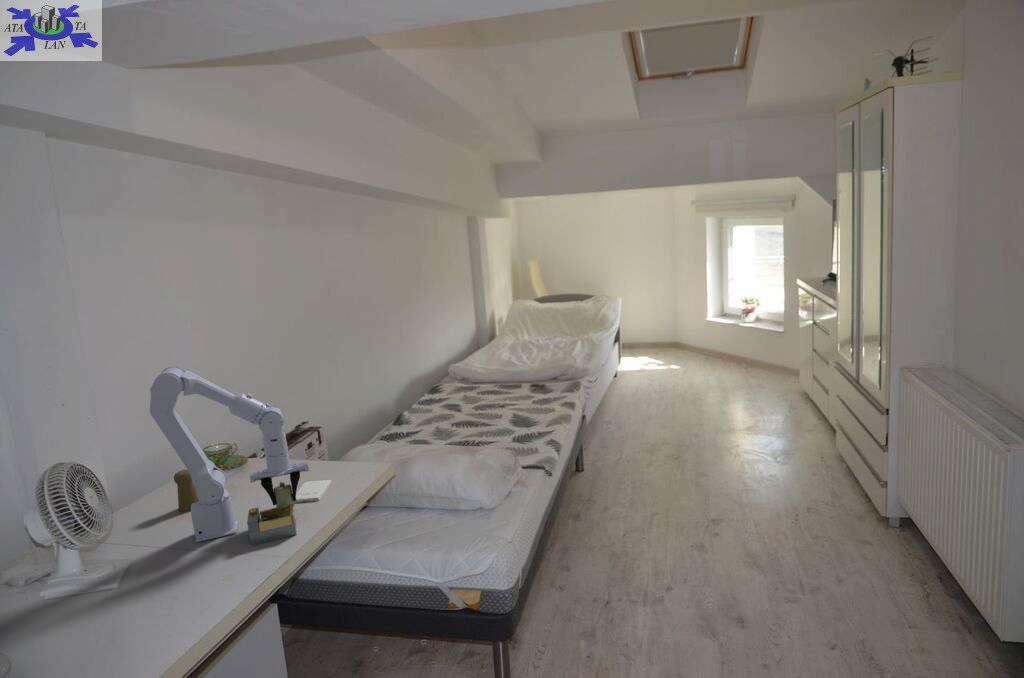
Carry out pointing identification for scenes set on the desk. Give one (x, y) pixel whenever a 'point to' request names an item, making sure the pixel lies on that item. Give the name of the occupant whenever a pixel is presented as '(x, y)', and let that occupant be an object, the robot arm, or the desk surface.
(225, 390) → the robot arm
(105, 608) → the desk surface
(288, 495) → the spout can
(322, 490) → the external hard drive
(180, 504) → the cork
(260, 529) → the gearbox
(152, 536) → the desk surface
